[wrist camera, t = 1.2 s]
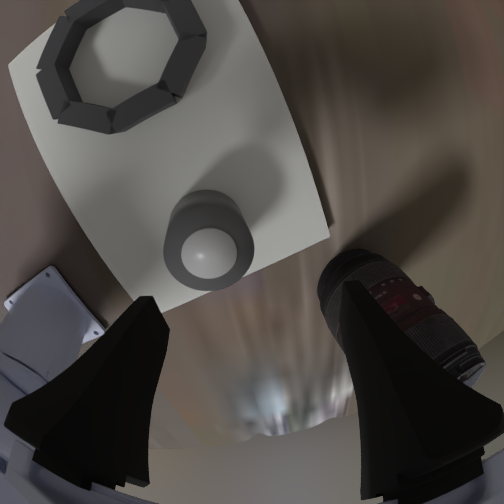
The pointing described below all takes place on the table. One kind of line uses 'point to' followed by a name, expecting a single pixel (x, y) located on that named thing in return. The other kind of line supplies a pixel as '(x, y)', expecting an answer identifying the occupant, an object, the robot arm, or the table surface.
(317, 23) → the table surface
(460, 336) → the camera lens
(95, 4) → the board
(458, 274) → the table surface
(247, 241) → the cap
